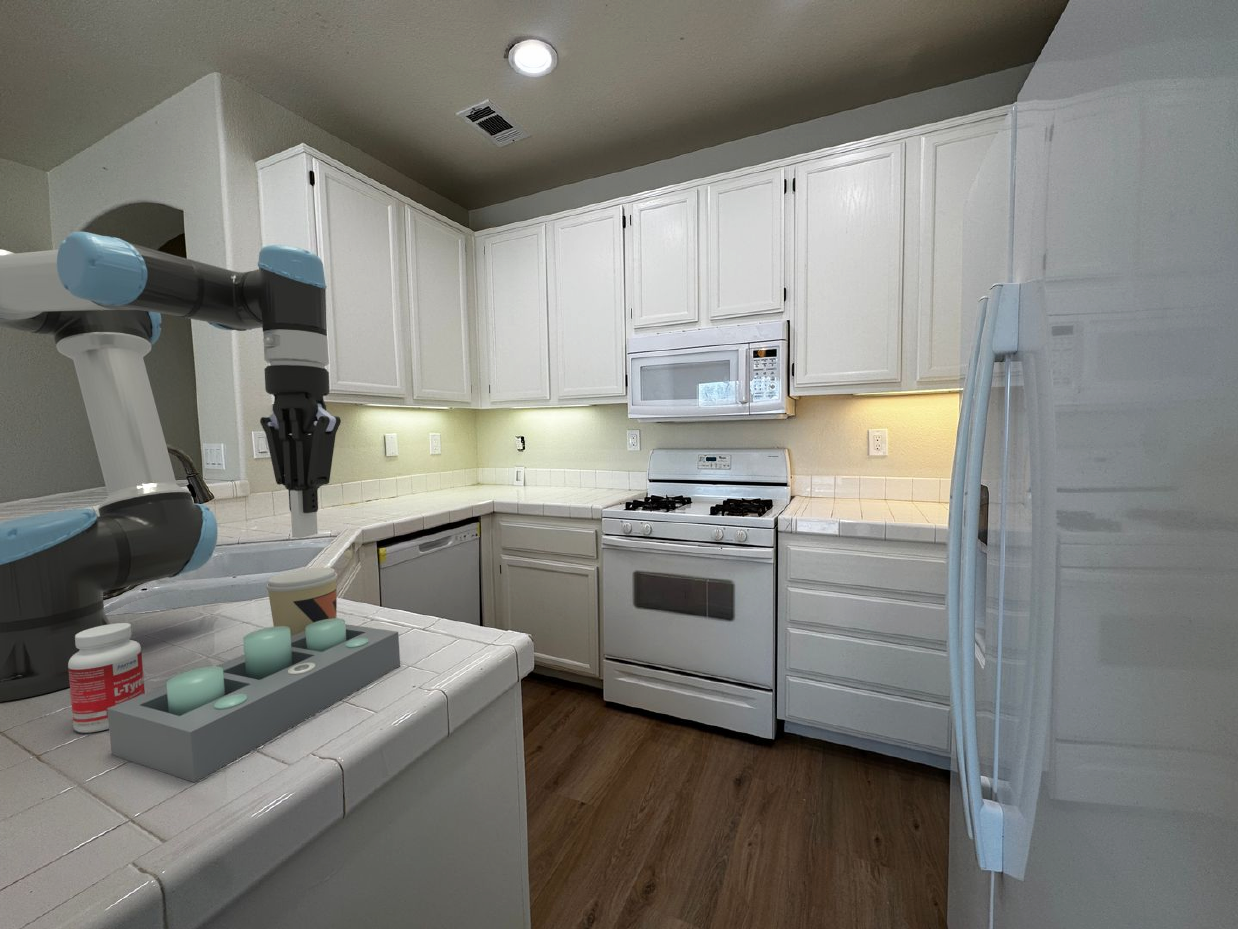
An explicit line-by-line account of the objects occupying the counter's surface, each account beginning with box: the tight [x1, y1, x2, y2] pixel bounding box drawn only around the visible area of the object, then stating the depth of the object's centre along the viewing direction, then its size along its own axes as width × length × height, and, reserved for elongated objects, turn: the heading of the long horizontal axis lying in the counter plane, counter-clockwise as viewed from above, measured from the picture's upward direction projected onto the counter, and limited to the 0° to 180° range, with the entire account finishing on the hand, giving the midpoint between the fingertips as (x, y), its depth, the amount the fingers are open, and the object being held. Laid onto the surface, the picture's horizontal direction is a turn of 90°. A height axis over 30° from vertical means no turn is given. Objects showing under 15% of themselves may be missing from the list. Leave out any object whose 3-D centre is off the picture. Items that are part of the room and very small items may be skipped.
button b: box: [242, 626, 293, 680], centre depth 64 cm, size 5×5×5 cm
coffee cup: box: [266, 566, 338, 636], centre depth 80 cm, size 9×9×12 cm
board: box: [107, 623, 401, 784], centre depth 63 cm, size 14×26×5 cm, turn 159°
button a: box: [165, 665, 225, 716], centre depth 56 cm, size 5×5×5 cm
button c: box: [305, 617, 346, 652], centre depth 71 cm, size 5×5×5 cm
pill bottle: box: [68, 622, 146, 734], centre depth 61 cm, size 6×6×11 cm
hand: (305, 535), depth 72 cm, fingers closed
